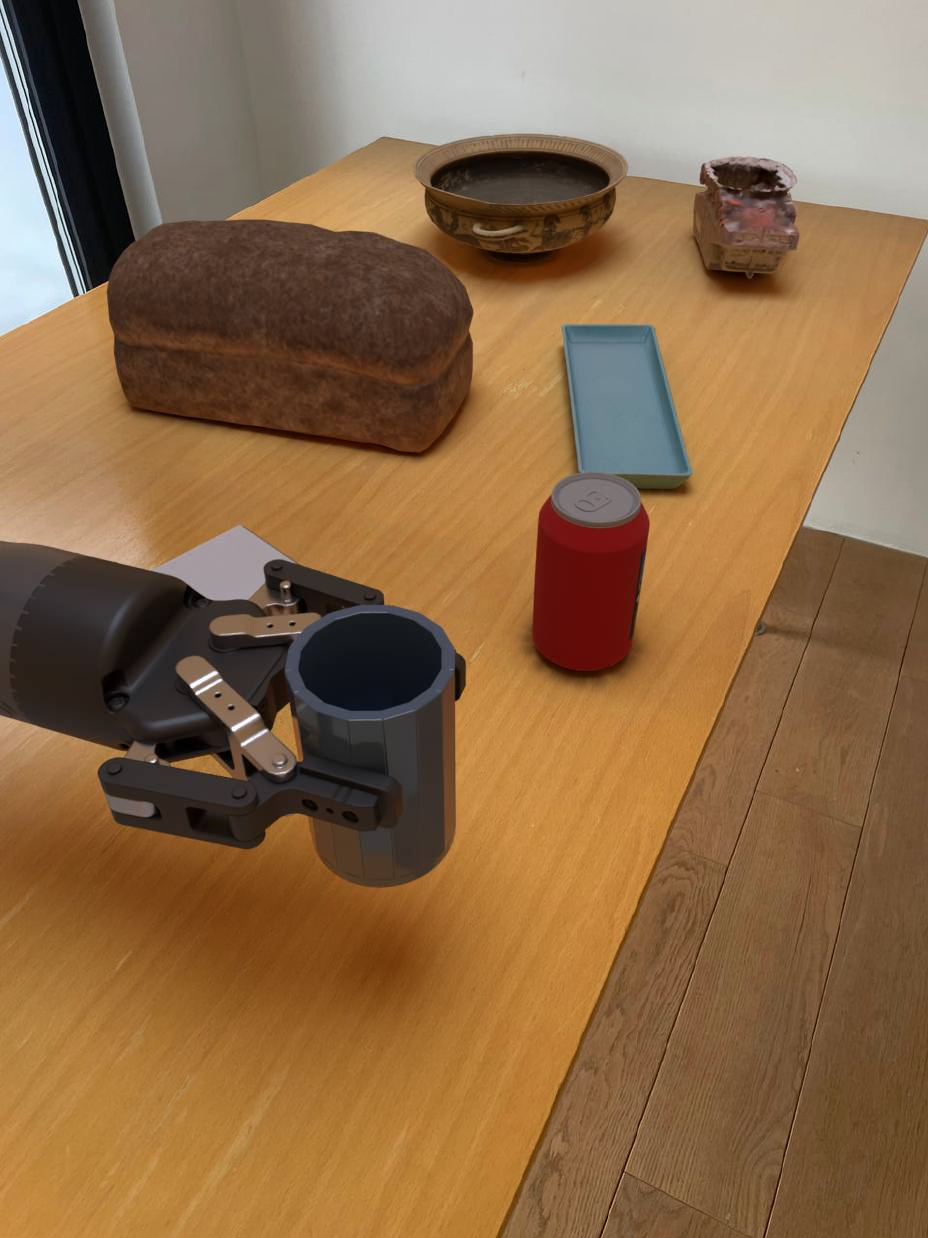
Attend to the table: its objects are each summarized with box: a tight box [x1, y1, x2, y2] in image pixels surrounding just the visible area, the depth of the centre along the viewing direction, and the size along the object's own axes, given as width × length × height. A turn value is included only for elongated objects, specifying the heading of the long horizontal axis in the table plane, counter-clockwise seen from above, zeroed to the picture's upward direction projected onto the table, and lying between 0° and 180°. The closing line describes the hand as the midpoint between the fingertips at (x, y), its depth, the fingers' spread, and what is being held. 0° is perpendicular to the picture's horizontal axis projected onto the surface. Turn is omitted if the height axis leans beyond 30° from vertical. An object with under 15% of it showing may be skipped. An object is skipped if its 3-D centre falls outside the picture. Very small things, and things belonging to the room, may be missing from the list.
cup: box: [285, 604, 457, 889], centre depth 40 cm, size 6×6×10 cm
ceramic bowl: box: [412, 133, 629, 265], centre depth 116 cm, size 30×24×10 cm
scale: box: [150, 524, 347, 645], centre depth 68 cm, size 14×13×3 cm
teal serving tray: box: [561, 323, 694, 490], centre depth 90 cm, size 26×9×2 cm, turn 179°
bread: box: [106, 218, 474, 453], centre depth 88 cm, size 15×32×16 cm, turn 73°
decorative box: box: [692, 156, 801, 279], centre depth 113 cm, size 13×20×10 cm, turn 171°
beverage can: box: [531, 472, 650, 672], centre depth 64 cm, size 7×7×12 cm
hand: (431, 737), depth 39 cm, fingers closed on cup, 6 cm apart
